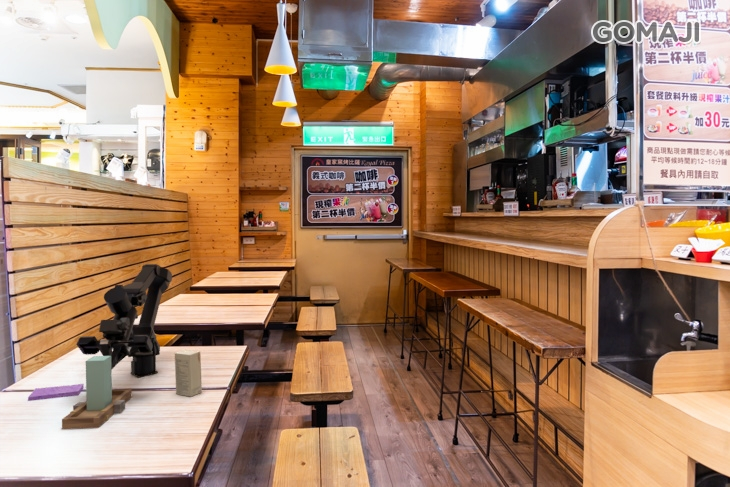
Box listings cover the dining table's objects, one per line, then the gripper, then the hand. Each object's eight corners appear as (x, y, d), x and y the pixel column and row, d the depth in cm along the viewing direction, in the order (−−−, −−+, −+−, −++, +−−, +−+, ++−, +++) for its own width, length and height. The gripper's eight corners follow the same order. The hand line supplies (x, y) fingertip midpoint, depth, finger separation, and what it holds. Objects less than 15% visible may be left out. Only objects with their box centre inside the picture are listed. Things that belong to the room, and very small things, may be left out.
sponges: (78, 397, 134) (78, 390, 134) (27, 402, 130) (26, 396, 129) (84, 389, 140) (84, 383, 140) (35, 394, 136) (35, 387, 136)
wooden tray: (94, 398, 131) (94, 389, 131) (137, 397, 132) (137, 388, 132) (55, 429, 111) (54, 418, 111) (105, 427, 113) (105, 416, 112)
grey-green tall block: (94, 404, 124) (93, 356, 123) (112, 403, 124) (111, 355, 124) (86, 410, 119) (85, 360, 119) (104, 410, 120) (103, 360, 119)
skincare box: (202, 392, 136) (201, 351, 136) (191, 397, 132) (190, 355, 132) (186, 389, 139) (185, 348, 139) (174, 393, 135) (174, 352, 135)
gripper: (79, 308, 130) (58, 358, 119) (148, 306, 132) (134, 355, 121) (93, 329, 138) (74, 378, 127) (158, 328, 140) (145, 376, 129)
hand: (106, 371), depth 126 cm, fingers closed
